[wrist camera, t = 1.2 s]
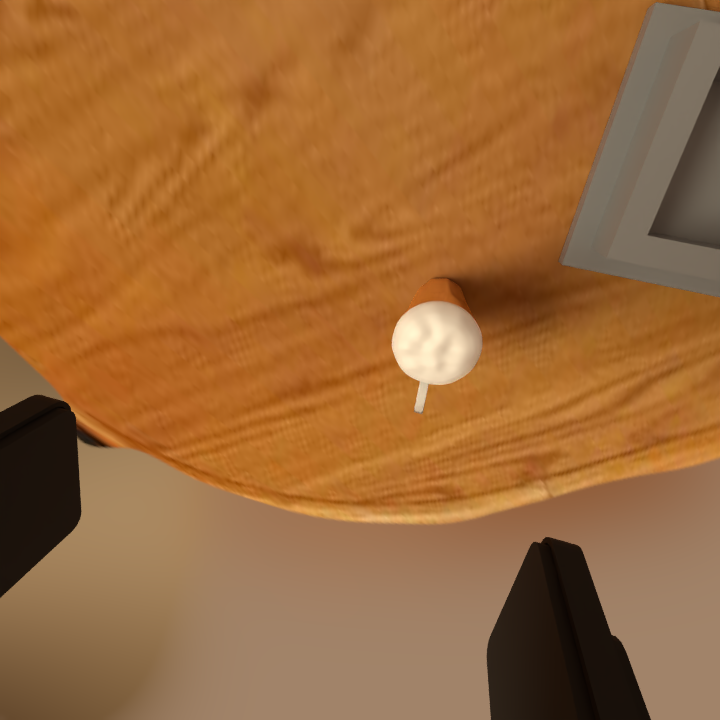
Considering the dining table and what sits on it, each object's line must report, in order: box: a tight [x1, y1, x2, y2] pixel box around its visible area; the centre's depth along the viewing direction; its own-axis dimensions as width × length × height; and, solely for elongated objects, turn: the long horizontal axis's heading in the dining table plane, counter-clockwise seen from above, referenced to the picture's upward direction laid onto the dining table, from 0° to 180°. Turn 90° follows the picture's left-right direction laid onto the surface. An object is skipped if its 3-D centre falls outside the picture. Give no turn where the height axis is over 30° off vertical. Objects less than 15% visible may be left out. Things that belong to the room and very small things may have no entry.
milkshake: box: [392, 278, 482, 414], centre depth 27 cm, size 5×5×10 cm
